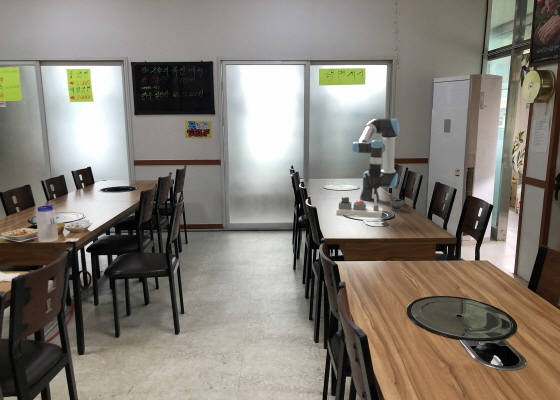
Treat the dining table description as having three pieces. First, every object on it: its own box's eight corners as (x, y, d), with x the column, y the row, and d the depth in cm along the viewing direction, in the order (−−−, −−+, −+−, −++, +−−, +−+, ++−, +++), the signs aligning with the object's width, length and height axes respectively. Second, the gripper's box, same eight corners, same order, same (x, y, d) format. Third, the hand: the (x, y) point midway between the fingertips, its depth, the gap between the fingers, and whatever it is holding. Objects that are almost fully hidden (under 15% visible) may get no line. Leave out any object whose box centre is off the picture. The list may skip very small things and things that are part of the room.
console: (339, 209, 323) (339, 200, 322) (382, 212, 316) (382, 202, 315) (336, 214, 308) (336, 204, 307) (381, 217, 301) (381, 206, 300)
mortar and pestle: (402, 208, 329) (402, 192, 327) (404, 211, 320) (405, 194, 317) (386, 208, 330) (387, 192, 327) (388, 211, 320) (389, 194, 318)
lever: (375, 208, 311) (373, 194, 309) (377, 207, 310) (376, 194, 309) (374, 209, 307) (373, 195, 306) (377, 209, 307) (375, 195, 305)
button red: (356, 207, 314) (356, 200, 313) (363, 207, 313) (363, 200, 312) (355, 208, 310) (356, 201, 309) (363, 209, 308) (363, 201, 308)
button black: (342, 203, 316) (342, 196, 315) (349, 204, 315) (349, 197, 314) (341, 205, 312) (341, 198, 311) (348, 205, 310) (348, 198, 310)
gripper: (365, 163, 301) (362, 198, 306) (385, 164, 298) (382, 199, 303) (366, 162, 308) (363, 196, 313) (385, 163, 305) (382, 198, 310)
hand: (372, 198), depth 308 cm, fingers closed
